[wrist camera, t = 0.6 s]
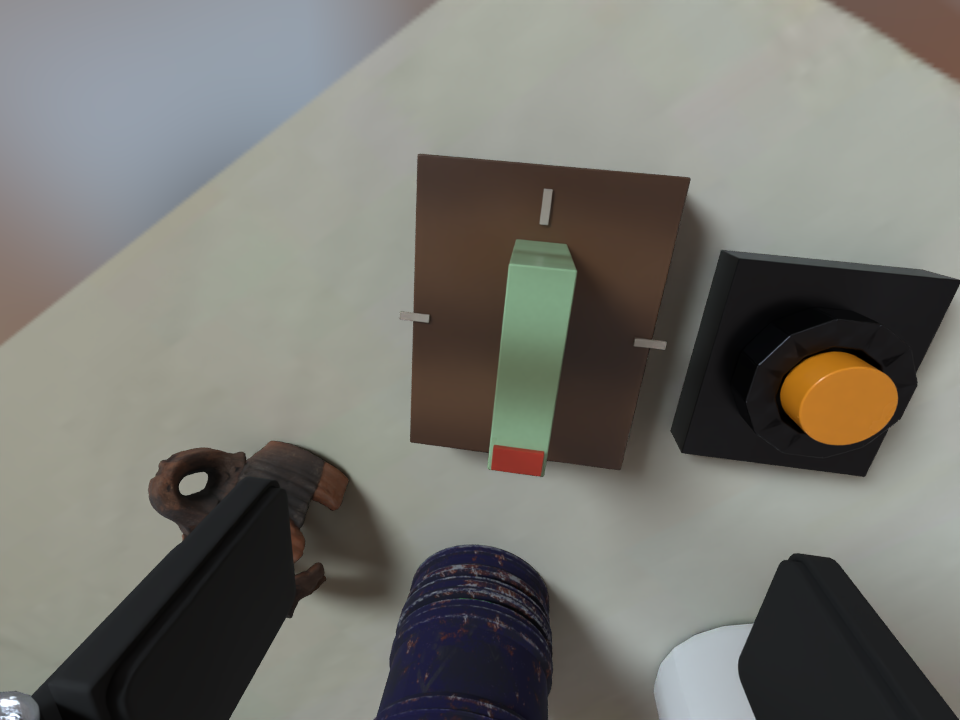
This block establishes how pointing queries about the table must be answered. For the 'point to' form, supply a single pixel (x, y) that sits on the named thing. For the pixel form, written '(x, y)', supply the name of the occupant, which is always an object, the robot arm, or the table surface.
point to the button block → (799, 351)
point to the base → (482, 288)
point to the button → (838, 398)
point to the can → (704, 678)
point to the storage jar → (471, 641)
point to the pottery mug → (225, 470)
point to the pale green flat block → (531, 355)
